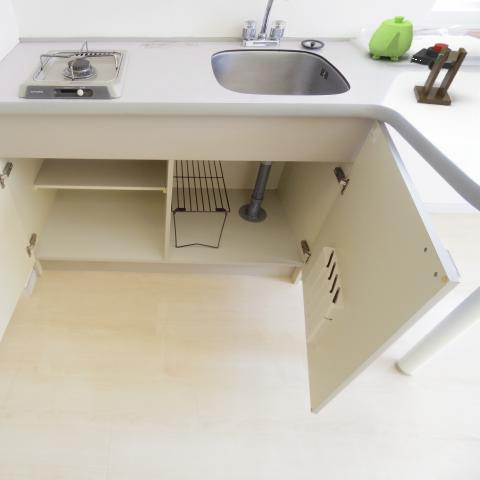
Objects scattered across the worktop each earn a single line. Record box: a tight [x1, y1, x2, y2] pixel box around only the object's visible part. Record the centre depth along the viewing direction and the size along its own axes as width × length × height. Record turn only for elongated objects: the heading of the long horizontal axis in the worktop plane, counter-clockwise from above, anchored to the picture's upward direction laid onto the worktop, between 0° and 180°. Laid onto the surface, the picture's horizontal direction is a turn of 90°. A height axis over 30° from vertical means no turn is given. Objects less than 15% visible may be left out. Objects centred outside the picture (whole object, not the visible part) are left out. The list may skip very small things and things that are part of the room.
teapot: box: [368, 15, 414, 62], centre depth 123 cm, size 20×13×13 cm
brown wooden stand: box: [412, 47, 468, 106], centre depth 97 cm, size 10×8×13 cm
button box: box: [409, 45, 453, 70], centre depth 120 cm, size 12×10×4 cm
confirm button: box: [433, 42, 450, 51], centre depth 119 cm, size 4×4×2 cm
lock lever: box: [427, 50, 460, 71], centre depth 99 cm, size 14×4×4 cm, turn 158°
